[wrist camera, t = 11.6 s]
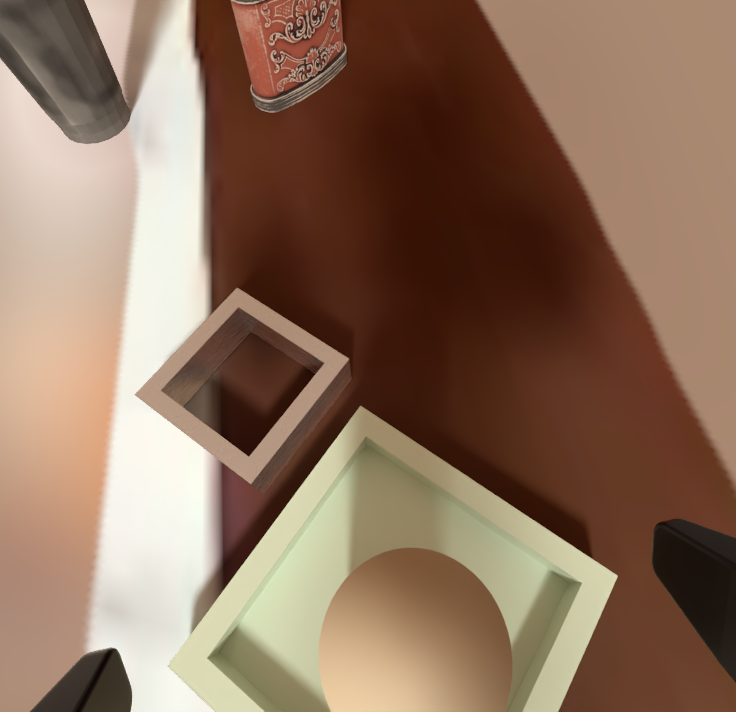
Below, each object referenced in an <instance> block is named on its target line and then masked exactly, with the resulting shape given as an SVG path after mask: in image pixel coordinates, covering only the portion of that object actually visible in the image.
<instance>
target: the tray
mask: <svg viewBox="0 0 736 712" xmlns="http://www.w3.org/2000/svg"><path fill="white" fill-rule="evenodd" d="M400 548H423V549H429V550H433V551H436V552H439V553H442V554H445V555H447V556H449V557H451V558H453V559H455V560H456V561H458V562H460V563H461V564H463V565H464V566H465V567H467V568H468V569H469V570H470V571H472V572H473V573H474V574H475V575H476V576H477V577H478V578H479V579H480V580H481V581H482V582H483V584H484V585H485V586H486V588H487V589H488V590H489V592H490V593H491V594H492V596H493V598H494V599H495V601H496V603H497V605H498V607H499V609H500V611H501V613H502V615H503V618H504V620H505V624H506V627H507V630H508V633H509V638H510V643H511V650H512V661H513V664H512V682H511V689H510V694H509V698H508V701H507V705H506V708H505V710H504V712H558V711H559V708H560V706H561V704H562V702H563V699H564V697H565V695H566V693H567V690H568V688H569V686H570V683H571V681H572V679H573V677H574V674H575V672H576V670H577V668H578V665H579V663H580V661H581V659H582V656H583V654H584V652H585V649H586V647H587V645H588V643H589V640H590V638H591V636H592V634H593V631H594V629H595V627H596V624H597V622H598V620H599V618H600V615H601V613H602V611H603V609H604V606H605V604H606V602H607V599H608V597H609V595H610V593H611V590H612V588H613V586H614V584H615V581H616V579H617V577H618V576H617V575H616V574H614V573H613V572H611V571H610V570H608V569H607V568H605V567H604V566H602V565H600V564H599V563H597V562H596V561H594V560H593V559H591V558H590V557H588V556H587V555H585V554H584V553H582V552H581V551H579V550H578V549H576V548H575V547H573V546H572V545H570V544H569V543H567V542H566V541H564V540H563V539H561V538H560V537H558V536H557V535H555V534H554V533H552V532H551V531H549V530H548V529H546V528H545V527H543V526H542V525H540V524H539V523H537V522H536V521H534V520H533V519H531V518H529V517H528V516H526V515H525V514H523V513H522V512H520V511H519V510H517V509H516V508H514V507H513V506H511V505H510V504H508V503H507V502H505V501H504V500H502V499H501V498H499V497H498V496H496V495H495V494H493V493H492V492H490V491H489V490H487V489H486V488H484V487H483V486H481V485H480V484H478V483H477V482H475V481H474V480H472V479H471V478H469V477H468V476H466V475H465V474H463V473H461V472H460V471H458V470H457V469H455V468H454V467H452V466H451V465H449V464H448V463H446V462H445V461H443V460H442V459H440V458H439V457H437V456H436V455H434V454H433V453H431V452H430V451H428V450H427V449H425V448H424V447H422V446H421V445H419V444H418V443H416V442H415V441H413V440H412V439H410V438H409V437H407V436H406V435H404V434H403V433H401V432H400V431H398V430H397V429H395V428H393V427H392V426H390V425H389V424H387V423H386V422H384V421H383V420H381V419H380V418H378V417H377V416H375V415H374V414H372V413H371V412H369V411H368V410H366V409H365V408H363V407H362V406H360V407H359V408H358V410H357V411H356V412H355V414H354V415H353V416H352V418H351V419H350V421H349V422H348V423H347V425H346V426H345V427H344V429H343V430H342V431H341V433H340V434H339V435H338V437H337V438H336V439H335V441H334V442H333V443H332V445H331V446H330V447H329V449H328V450H327V452H326V453H325V454H324V456H323V457H322V458H321V460H320V461H319V462H318V464H317V465H316V466H315V468H314V469H313V470H312V472H311V473H310V474H309V476H308V477H307V478H306V480H305V481H304V483H303V484H302V485H301V487H300V488H299V489H298V491H297V492H296V493H295V495H294V496H293V497H292V499H291V500H290V501H289V503H288V504H287V505H286V507H285V508H284V510H283V511H282V512H281V514H280V515H279V516H278V518H277V519H276V520H275V522H274V523H273V524H272V526H271V527H270V528H269V530H268V531H267V532H266V534H265V535H264V536H263V538H262V539H261V541H260V542H259V543H258V545H257V546H256V547H255V549H254V550H253V551H252V553H251V554H250V555H249V557H248V558H247V559H246V561H245V562H244V563H243V565H242V566H241V567H240V569H239V570H238V572H237V573H236V574H235V576H234V577H233V578H232V580H231V581H230V582H229V584H228V585H227V586H226V588H225V589H224V590H223V592H222V593H221V594H220V596H219V597H218V598H217V600H216V601H215V603H214V604H213V605H212V607H211V608H210V609H209V611H208V612H207V613H206V615H205V616H204V617H203V619H202V620H201V621H200V623H199V624H198V625H197V627H196V628H195V629H194V631H193V632H192V634H191V635H190V636H189V638H188V639H187V640H186V642H185V643H184V644H183V646H182V647H181V648H180V650H179V651H178V652H177V654H176V655H175V656H174V658H173V659H172V661H171V662H170V663H169V665H168V667H169V668H170V669H171V670H172V671H173V672H174V673H175V674H176V675H177V676H178V677H179V678H180V679H181V680H182V681H183V682H184V683H186V684H187V685H188V686H189V687H190V688H191V689H192V690H193V691H194V692H195V693H196V694H197V695H198V696H199V697H200V698H201V699H202V700H203V701H204V702H205V703H206V704H207V705H209V706H210V707H211V708H212V709H213V710H214V711H215V712H331V711H330V708H329V706H328V704H327V701H326V698H325V695H324V691H323V688H322V684H321V678H320V672H319V640H320V634H321V629H322V624H323V621H324V618H325V614H326V612H327V609H328V607H329V605H330V602H331V600H332V598H333V597H334V595H335V593H336V591H337V590H338V588H339V587H340V586H341V584H342V583H343V582H344V580H345V579H346V578H347V577H348V576H349V575H350V574H351V573H352V572H353V571H354V570H355V569H356V568H357V567H359V566H360V565H361V564H362V563H364V562H365V561H367V560H369V559H370V558H372V557H374V556H376V555H379V554H381V553H383V552H386V551H390V550H394V549H400Z"/></svg>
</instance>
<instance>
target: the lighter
mask: <svg viewBox="0 0 736 712" xmlns="http://www.w3.org/2000/svg"><path fill="white" fill-rule="evenodd" d="M231 3H232V7H233V11H234V15H235V19H236V23H237V27H238V31H239V35H240V39H241V43H242V47H243V51H244V55H245V59H246V62H247V66H248V70H249V74H250V78H251V82H252V85H251V93H252V97H253V101H254V103H255V105H256V106H257V107H258V108H259V109H260V110H263V111H266V112H278V111H281V110H283V109H285V108H287V107H289V106H291V105H293V104H295V103H297V102H300V101H301V100H303V99H305V98H306V97H308V96H309V95H311V94H313V93H314V92H316V91H317V90H319V89H320V88H321V87H323V86H324V85H325V84H326V83H328V82H329V81H330V80H331V79H333V78H334V77H335V76H336V75H337V74H338V73H339V72H340V70H341V69H342V68H343V67H344V66H345V65H346V63H347V52H346V46H345V44H344V43H343V30H342V15H341V0H231Z"/></svg>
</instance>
